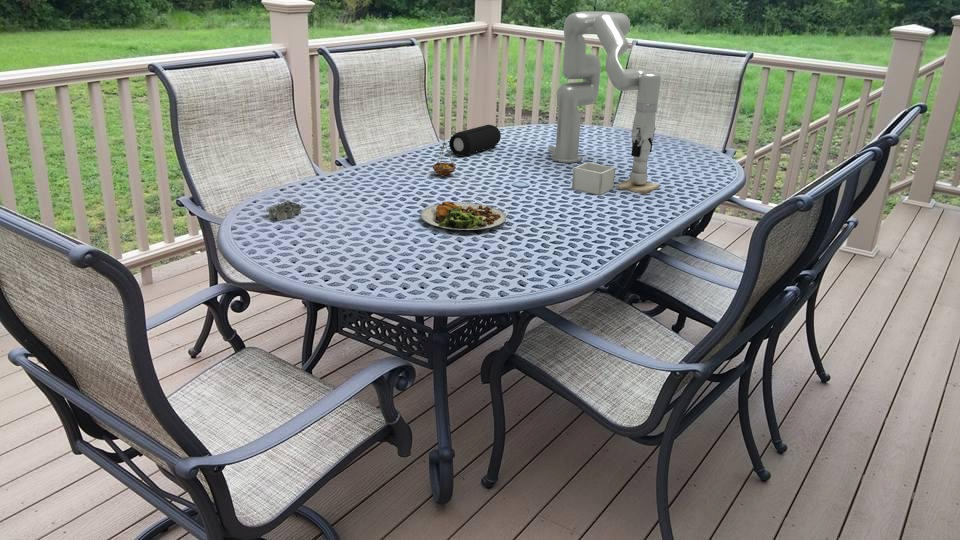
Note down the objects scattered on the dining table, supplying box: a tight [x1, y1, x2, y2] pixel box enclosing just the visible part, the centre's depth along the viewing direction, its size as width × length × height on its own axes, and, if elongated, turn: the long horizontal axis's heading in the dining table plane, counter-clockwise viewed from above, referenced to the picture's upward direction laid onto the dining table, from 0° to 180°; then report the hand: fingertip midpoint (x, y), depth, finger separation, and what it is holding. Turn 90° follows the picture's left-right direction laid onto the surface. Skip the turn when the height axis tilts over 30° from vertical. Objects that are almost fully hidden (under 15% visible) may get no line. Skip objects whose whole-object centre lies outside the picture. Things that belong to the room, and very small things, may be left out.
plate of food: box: [420, 200, 507, 231], centre depth 256 cm, size 28×28×6 cm
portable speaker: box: [448, 124, 502, 156], centre depth 339 cm, size 26×10×10 cm, turn 142°
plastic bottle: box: [629, 139, 651, 185], centre depth 294 cm, size 6×7×20 cm
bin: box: [571, 161, 616, 196], centre depth 293 cm, size 12×11×8 cm
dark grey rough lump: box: [265, 199, 304, 222], centre depth 256 cm, size 11×8×4 cm
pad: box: [615, 178, 660, 195], centre depth 298 cm, size 12×12×1 cm
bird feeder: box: [432, 107, 457, 176], centre depth 299 cm, size 9×9×30 cm
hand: (641, 154), depth 293 cm, fingers open, 9 cm apart
